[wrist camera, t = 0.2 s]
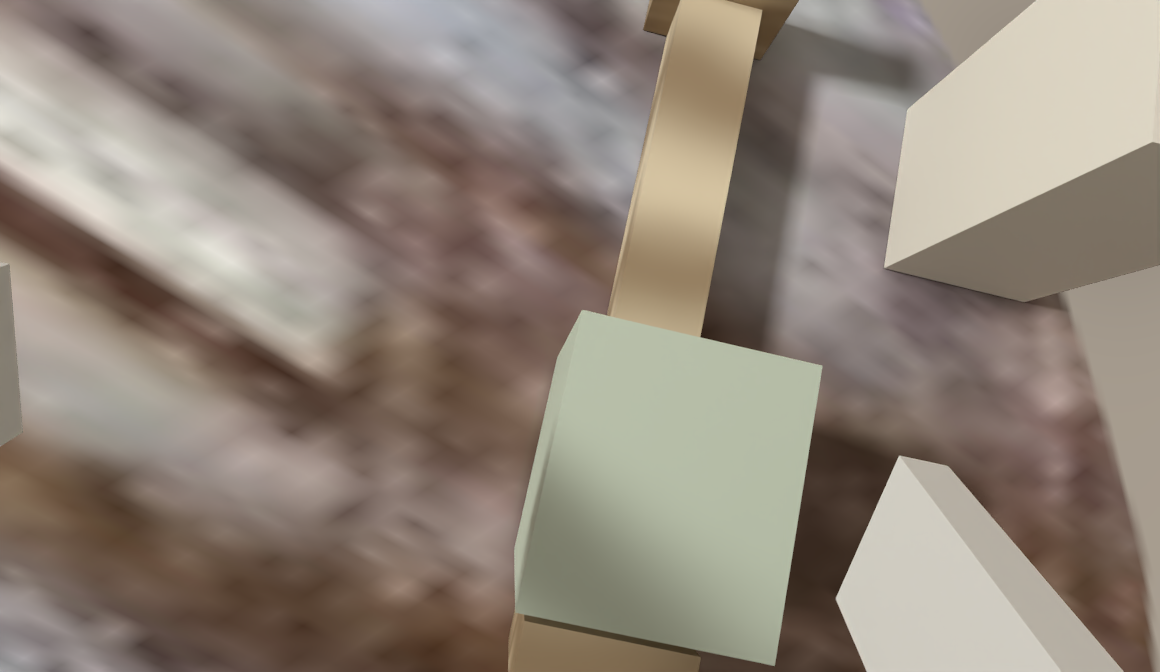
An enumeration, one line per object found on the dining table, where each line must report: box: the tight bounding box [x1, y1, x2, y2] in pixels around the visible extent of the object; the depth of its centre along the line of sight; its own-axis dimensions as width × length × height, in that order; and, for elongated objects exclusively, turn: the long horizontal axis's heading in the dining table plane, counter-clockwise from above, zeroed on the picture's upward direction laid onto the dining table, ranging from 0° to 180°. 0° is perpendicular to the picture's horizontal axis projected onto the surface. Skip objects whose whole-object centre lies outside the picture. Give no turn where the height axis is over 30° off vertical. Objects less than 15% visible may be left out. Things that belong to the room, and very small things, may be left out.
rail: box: [508, 0, 799, 672], centre depth 24 cm, size 26×5×6 cm, turn 168°
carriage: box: [514, 310, 822, 666], centre depth 21 cm, size 7×6×10 cm
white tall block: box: [884, 0, 1160, 302], centre depth 23 cm, size 7×6×12 cm
